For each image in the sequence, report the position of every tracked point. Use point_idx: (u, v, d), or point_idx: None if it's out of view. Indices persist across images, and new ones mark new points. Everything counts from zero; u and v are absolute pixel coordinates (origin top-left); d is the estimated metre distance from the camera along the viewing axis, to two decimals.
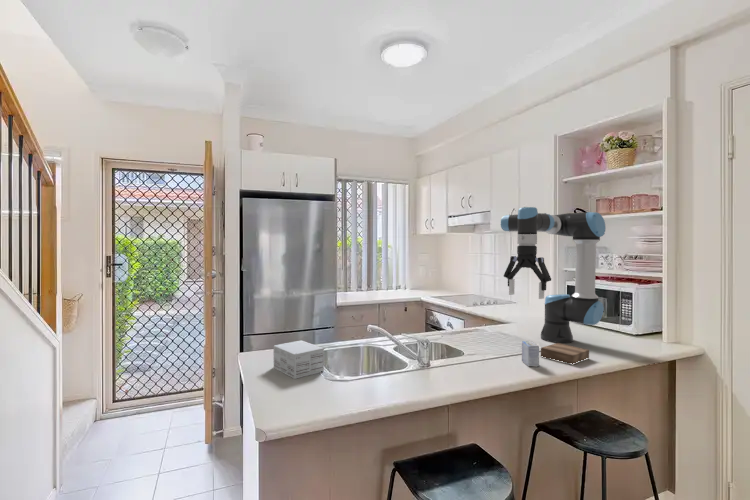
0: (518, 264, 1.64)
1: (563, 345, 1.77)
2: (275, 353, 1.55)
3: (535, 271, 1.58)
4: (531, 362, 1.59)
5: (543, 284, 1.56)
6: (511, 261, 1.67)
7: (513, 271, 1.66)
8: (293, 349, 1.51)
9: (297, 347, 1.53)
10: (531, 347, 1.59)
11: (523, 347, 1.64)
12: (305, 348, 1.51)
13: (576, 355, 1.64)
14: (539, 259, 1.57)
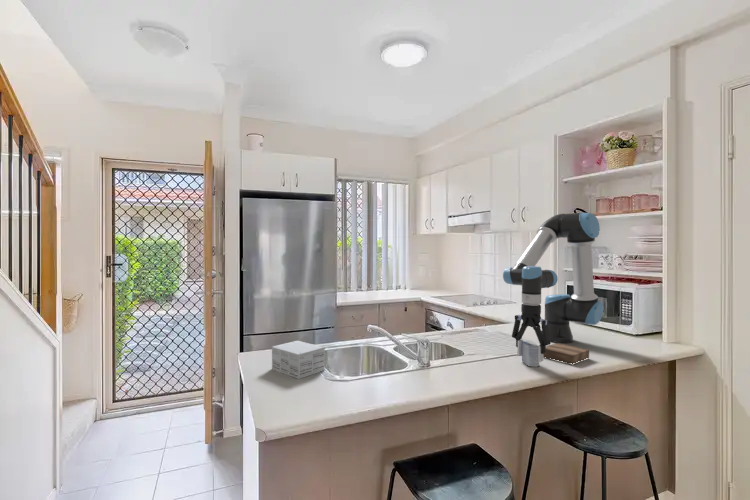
0: (523, 323, 1.63)
1: (563, 345, 1.77)
2: (274, 355, 1.53)
3: (537, 333, 1.59)
4: (531, 362, 1.59)
5: (542, 347, 1.58)
6: (516, 320, 1.67)
7: (520, 331, 1.65)
8: (294, 349, 1.50)
9: (297, 347, 1.53)
10: (531, 347, 1.59)
11: (523, 347, 1.64)
12: (306, 348, 1.52)
13: (576, 355, 1.64)
14: (543, 322, 1.57)
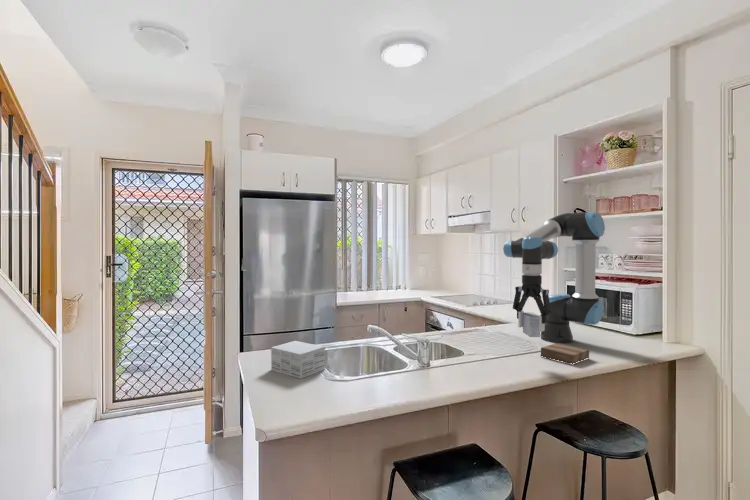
0: (524, 294, 1.63)
1: (563, 345, 1.77)
2: (274, 355, 1.53)
3: (537, 303, 1.59)
4: (532, 332, 1.59)
5: (543, 317, 1.58)
6: (517, 292, 1.66)
7: (521, 302, 1.65)
8: (295, 349, 1.50)
9: (298, 347, 1.53)
10: (532, 317, 1.59)
11: (524, 318, 1.64)
12: (307, 348, 1.52)
13: (576, 355, 1.64)
14: (544, 292, 1.56)
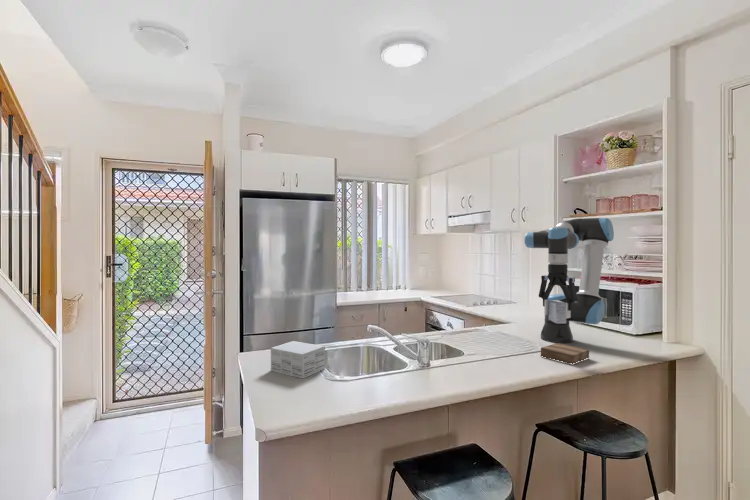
0: (550, 283, 1.70)
1: (563, 345, 1.77)
2: (274, 356, 1.52)
3: (564, 291, 1.65)
4: (558, 318, 1.65)
5: (569, 304, 1.64)
6: (543, 280, 1.73)
7: (547, 290, 1.71)
8: (296, 349, 1.50)
9: (298, 347, 1.53)
10: (558, 304, 1.65)
11: (550, 305, 1.71)
12: (307, 348, 1.52)
13: (576, 355, 1.64)
14: (570, 280, 1.63)
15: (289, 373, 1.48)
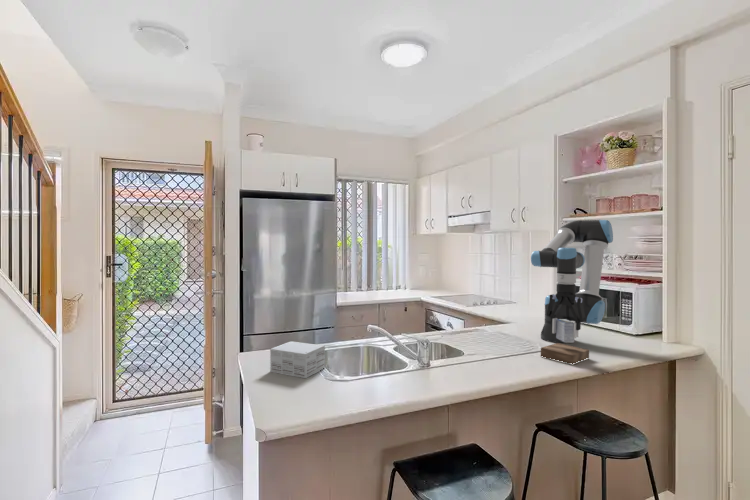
0: (558, 302, 1.72)
1: (563, 345, 1.77)
2: (274, 356, 1.51)
3: (572, 310, 1.68)
4: (567, 337, 1.68)
5: (578, 324, 1.66)
6: (551, 299, 1.75)
7: (555, 309, 1.74)
8: (297, 349, 1.50)
9: (298, 347, 1.53)
10: (567, 323, 1.67)
11: (558, 324, 1.73)
12: (308, 347, 1.52)
13: (576, 355, 1.64)
14: (579, 300, 1.65)
15: (291, 373, 1.48)
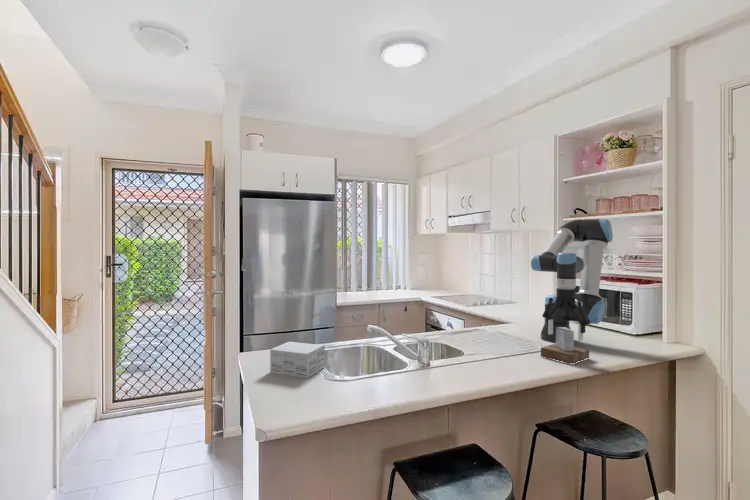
0: (557, 306, 1.72)
1: None
2: (274, 357, 1.50)
3: (574, 314, 1.67)
4: (566, 346, 1.68)
5: (582, 327, 1.65)
6: (550, 302, 1.75)
7: (552, 312, 1.75)
8: (298, 349, 1.50)
9: (298, 347, 1.53)
10: (566, 332, 1.68)
11: (558, 333, 1.73)
12: (308, 347, 1.53)
13: (576, 355, 1.64)
14: (579, 303, 1.65)
15: (292, 373, 1.48)
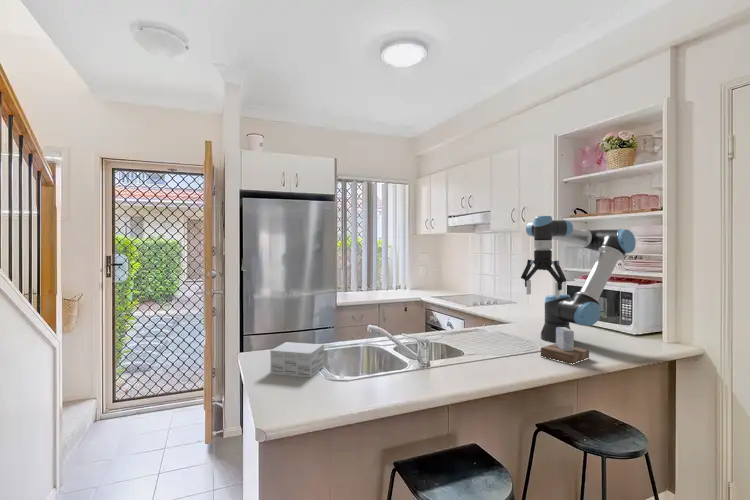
0: (535, 267, 1.82)
1: None
2: (275, 358, 1.49)
3: (551, 273, 1.77)
4: (566, 346, 1.68)
5: (559, 284, 1.75)
6: (528, 264, 1.85)
7: (530, 273, 1.85)
8: (299, 349, 1.50)
9: (299, 347, 1.53)
10: (566, 332, 1.68)
11: (558, 333, 1.73)
12: (309, 347, 1.53)
13: (576, 355, 1.64)
14: (555, 262, 1.76)
15: (294, 374, 1.47)
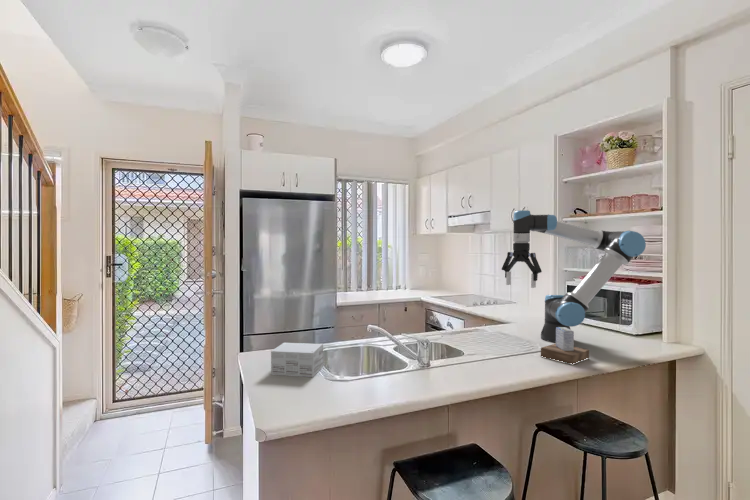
0: (514, 259, 1.93)
1: None
2: (276, 359, 1.48)
3: (528, 264, 1.87)
4: (566, 346, 1.68)
5: (535, 275, 1.85)
6: (508, 256, 1.96)
7: (510, 265, 1.95)
8: (300, 349, 1.50)
9: (299, 347, 1.53)
10: (566, 332, 1.68)
11: (558, 333, 1.73)
12: (309, 347, 1.53)
13: (576, 355, 1.64)
14: (531, 254, 1.86)
15: (296, 374, 1.47)
